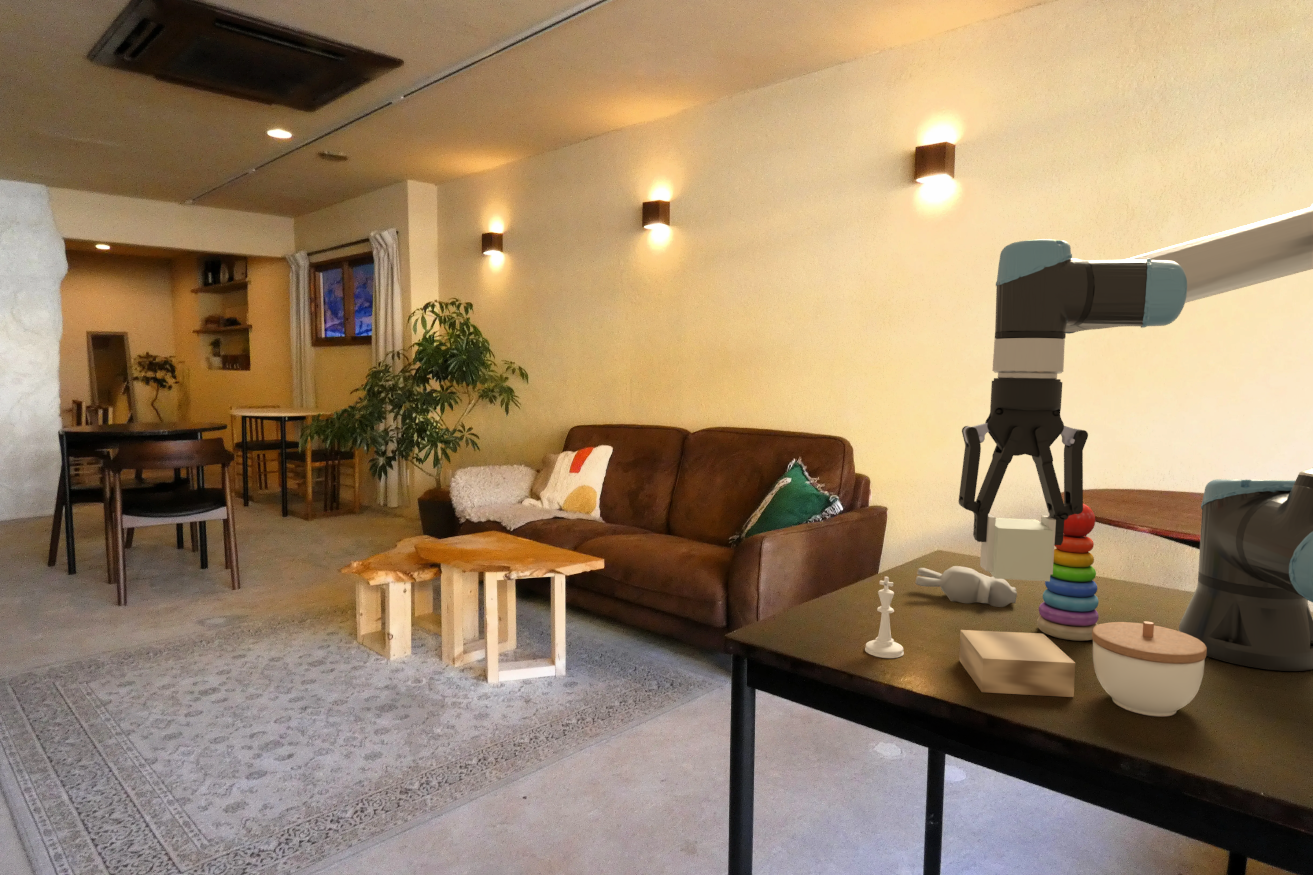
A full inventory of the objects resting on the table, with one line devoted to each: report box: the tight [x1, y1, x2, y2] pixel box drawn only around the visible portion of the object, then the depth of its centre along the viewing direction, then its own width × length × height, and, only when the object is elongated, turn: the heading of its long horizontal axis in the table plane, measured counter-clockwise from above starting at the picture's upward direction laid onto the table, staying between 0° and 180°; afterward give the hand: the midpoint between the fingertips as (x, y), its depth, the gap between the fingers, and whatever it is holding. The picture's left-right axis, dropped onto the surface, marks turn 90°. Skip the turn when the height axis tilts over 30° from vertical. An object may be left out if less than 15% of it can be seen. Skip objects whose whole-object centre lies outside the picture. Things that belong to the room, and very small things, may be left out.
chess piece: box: [864, 576, 905, 659], centre depth 103 cm, size 5×5×10 cm
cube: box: [988, 517, 1053, 582], centre depth 94 cm, size 6×6×6 cm
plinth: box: [958, 629, 1076, 698], centre depth 94 cm, size 10×10×4 cm
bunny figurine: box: [915, 565, 1018, 608], centre depth 127 cm, size 10×5×15 cm
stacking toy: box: [1036, 503, 1099, 642], centre depth 110 cm, size 8×8×19 cm
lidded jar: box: [1092, 620, 1207, 718], centre depth 87 cm, size 11×11×9 cm
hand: (1015, 569), depth 94 cm, fingers closed on cube, 6 cm apart
